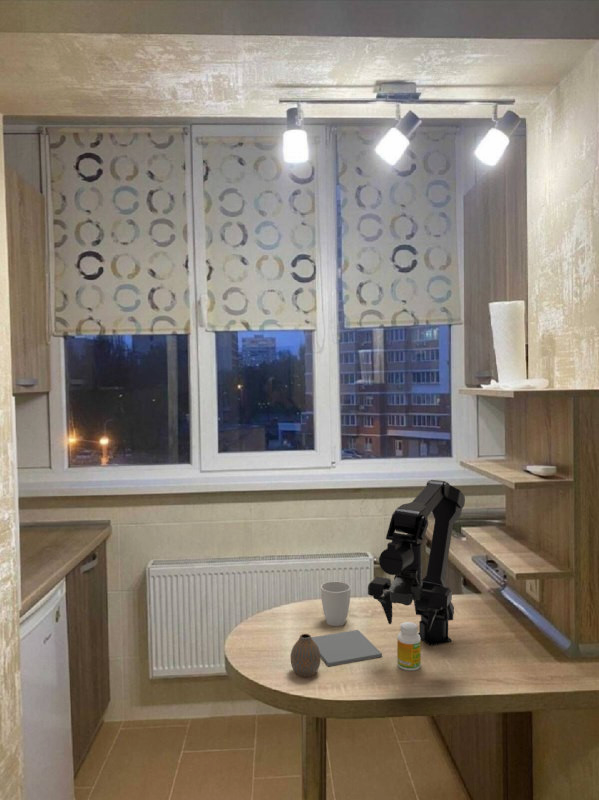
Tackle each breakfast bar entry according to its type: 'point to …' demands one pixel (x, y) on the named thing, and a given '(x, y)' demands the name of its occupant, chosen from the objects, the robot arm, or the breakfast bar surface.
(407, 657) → the supplement bottle
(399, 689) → the breakfast bar surface
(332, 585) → the cup
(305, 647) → the vase
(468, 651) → the breakfast bar surface
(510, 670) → the breakfast bar surface
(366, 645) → the slate mat
